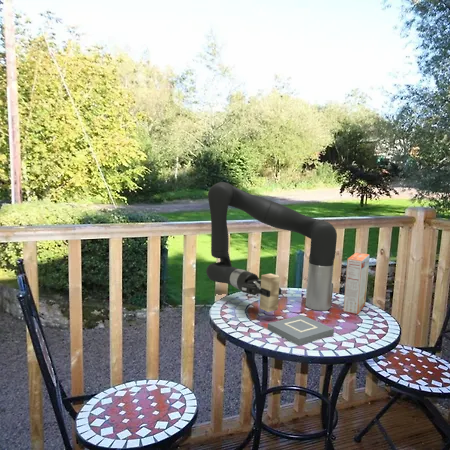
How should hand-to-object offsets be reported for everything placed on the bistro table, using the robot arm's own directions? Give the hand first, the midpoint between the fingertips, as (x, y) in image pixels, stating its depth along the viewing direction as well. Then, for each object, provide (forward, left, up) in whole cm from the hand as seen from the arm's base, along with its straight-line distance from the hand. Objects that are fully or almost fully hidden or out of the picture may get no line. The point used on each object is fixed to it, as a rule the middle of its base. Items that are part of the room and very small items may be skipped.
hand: (274, 293), depth 138 cm
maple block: (0, -3, -7) cm, 7 cm away
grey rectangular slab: (-2, +11, -10) cm, 15 cm away
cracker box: (-38, +5, -10) cm, 40 cm away
